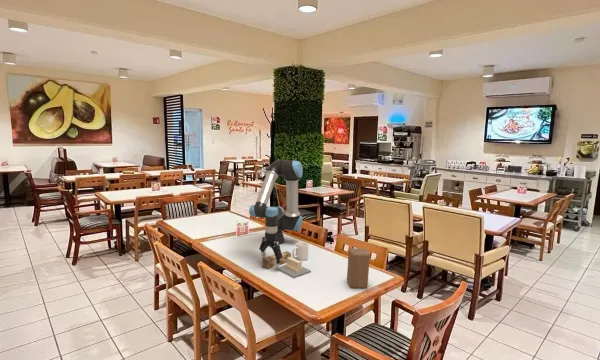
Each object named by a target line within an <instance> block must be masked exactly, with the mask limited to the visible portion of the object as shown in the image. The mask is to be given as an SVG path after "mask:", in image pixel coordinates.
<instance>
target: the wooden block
mask: <svg viewBox="0 0 600 360" xmlns="http://www.w3.org/2000/svg"><path fill="white" fill-rule="evenodd" d="M347 257H348V258H347V273H346V281H347V283H348V285H349V287H350V289H367V288H368V286H369V285H368V284H369V270H370V258H371V254H370V253H369V252H368V250H367V249H366V248H357V247H356V248H355V247H354V248H353V247H352V248H351V247H350V248H349V249H348V255H347Z"/></svg>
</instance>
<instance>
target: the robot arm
mask: <svg viewBox="0 0 600 360" xmlns="http://www.w3.org/2000/svg"><path fill="white" fill-rule="evenodd" d="M303 169H304V168H303V164H302V163H301V162H300V161H299V160H290V159H278V160H275V161H273V162H272V163H270V164H269V166H268V167H267V169H266V170H265V173H264V174H265V175H264V176H265V177H264V179H263V182H262V186H261V188H260V190H259V193H258V196H257V198H256V201H255V203H254V204H250V206H249V210H248V214H249V215H250V216H251V217H253V218H263V219H265V221H264V223H265V228H264V231H265V232H264V237H262V240H261V243H260V246H259V247H258V250H260V255H261V263H263V258H265V257H267V256H266V255H267V254H266V252H267V251H266V250H267V249H268V247H269V248H271V249H272V252H273V255H275V256H276V258H275V267H274V269H275V270H277V268H279V267H280V265H279V263H280V258H282V250H281V246H280V244H284V243H285V237H284V234H283V231H284V230H285V231H292V232H298V231H301V228H302V224H303V216H302V215H301V212H300V211H299V181H300V180H301V178H302V177H303ZM280 176H281V177H283V180H284V181H285V182H286V184H285V185H286V186H285V187H286V197H285V198H286V211H285V210H284V208H283V207H282V206H279V205H278V206H267V205H268V202H269V200H270V197H271V194H272V191H273V188H274V186H275V183H276V180H278V179H279V177H280Z"/></svg>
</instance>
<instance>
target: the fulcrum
mask: <svg viewBox="0 0 600 360" xmlns="http://www.w3.org/2000/svg"><path fill="white" fill-rule="evenodd" d="M302 263H303V261H300V260H297V259H296V258H295V257H293V256H291V257H289V258H287V263H285V265H284V264H283V265H282V266H281V265H280V266H279V268H277V269H276V270H277V271H279V272H281V273H283V274H285V275H287V276H289V277H291V278H293V279H297V278H299V277H302V276H304V275H307V274H310V273H312V270H310V269H309V268H306V267H305V266H303V265H302Z"/></svg>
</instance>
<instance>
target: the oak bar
mask: <svg viewBox="0 0 600 360" xmlns="http://www.w3.org/2000/svg"><path fill="white" fill-rule="evenodd" d="M281 253H282V258H280V263H279V266H281V265H282V266H283V265H284V264H285V265H286V264H287V258H289V257H292V253H291V252H290V251H287V250H286V251H284V252H282V251H281ZM275 258H276V256H275V254H272V255H269V256H266V257H265V258H263V262H261V263H262V268H263V269H265V270H269V269H271V268H275Z"/></svg>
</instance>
